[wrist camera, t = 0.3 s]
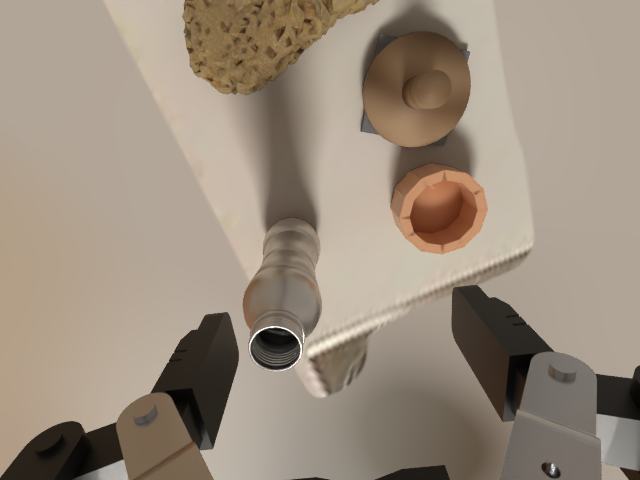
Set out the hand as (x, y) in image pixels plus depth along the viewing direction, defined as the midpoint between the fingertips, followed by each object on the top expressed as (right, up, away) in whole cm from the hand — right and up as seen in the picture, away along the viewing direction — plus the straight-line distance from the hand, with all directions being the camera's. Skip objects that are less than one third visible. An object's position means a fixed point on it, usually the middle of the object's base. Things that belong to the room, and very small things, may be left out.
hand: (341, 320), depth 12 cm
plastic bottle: (-4, +3, +29) cm, 29 cm away
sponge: (-4, +26, +21) cm, 33 cm away
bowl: (+12, +7, +27) cm, 31 cm away
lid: (+9, +18, +22) cm, 30 cm away
